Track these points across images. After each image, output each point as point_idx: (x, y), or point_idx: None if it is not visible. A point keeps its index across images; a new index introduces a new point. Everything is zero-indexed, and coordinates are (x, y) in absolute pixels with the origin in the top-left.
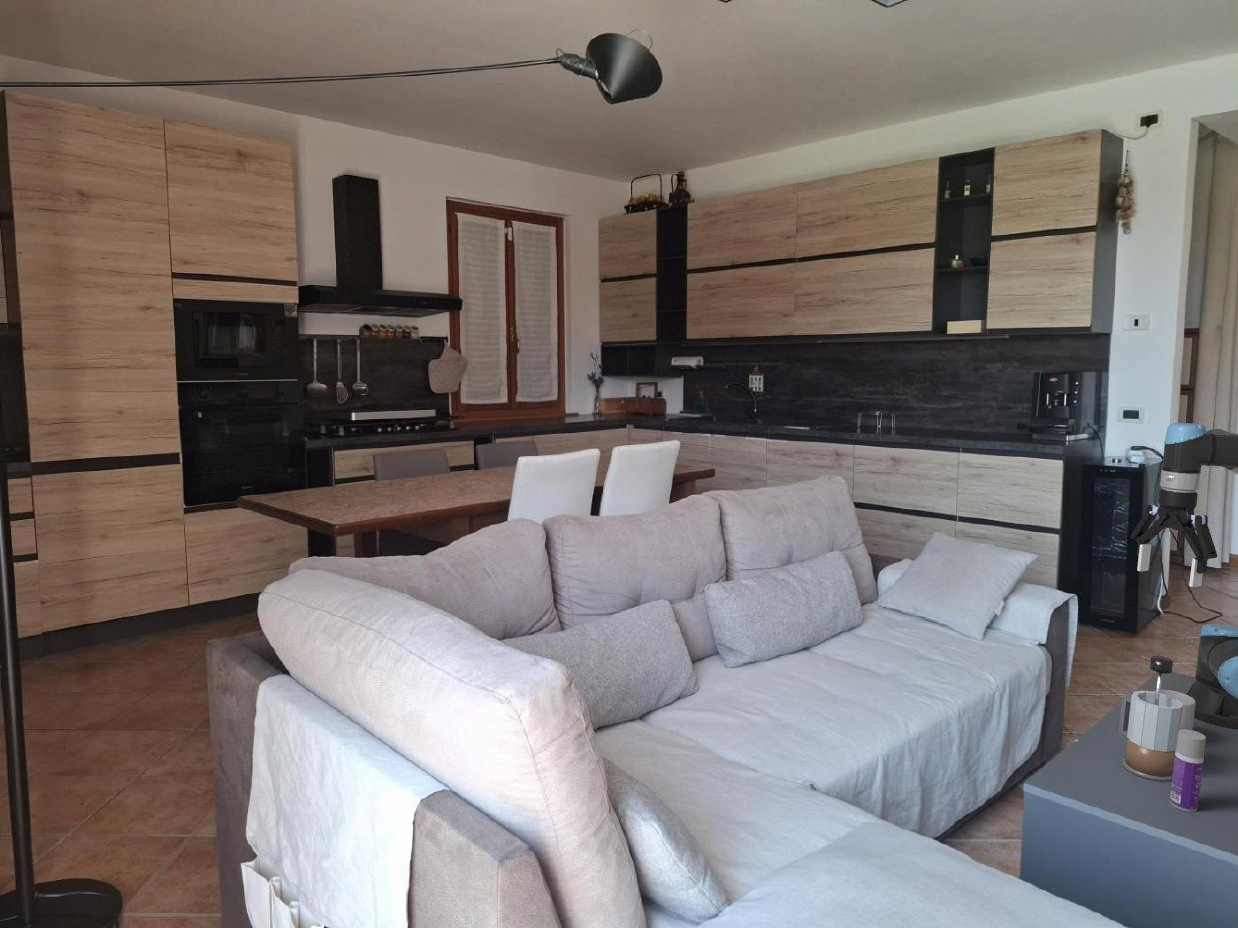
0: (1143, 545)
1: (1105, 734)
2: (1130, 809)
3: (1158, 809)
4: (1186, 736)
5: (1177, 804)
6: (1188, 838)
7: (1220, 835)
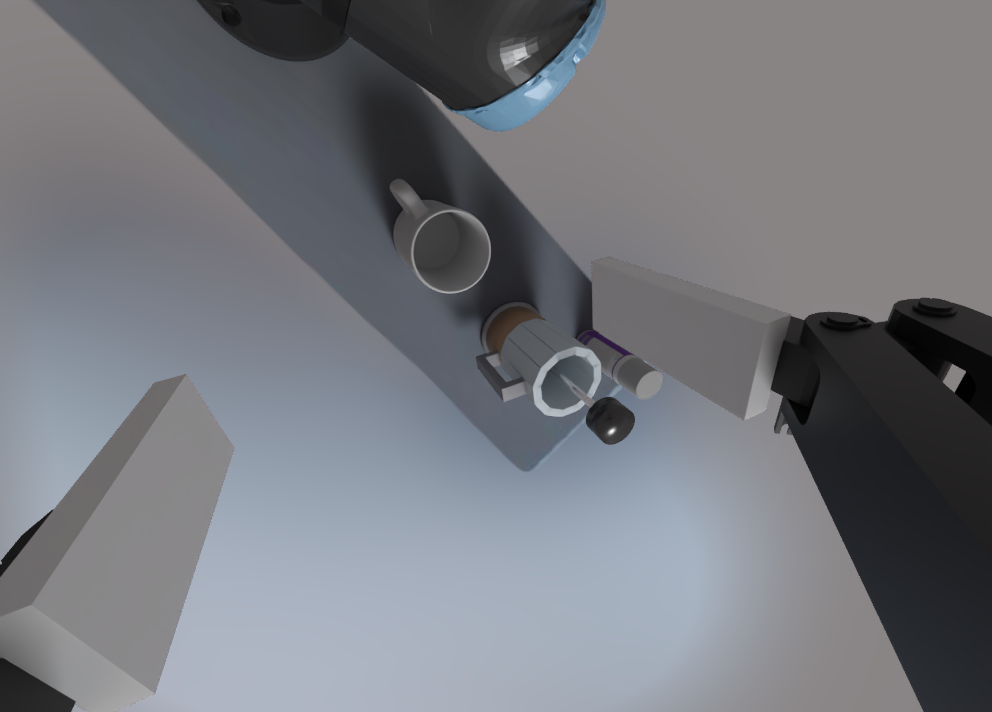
0: (146, 680)
1: (400, 334)
2: None
3: None
4: (650, 395)
5: None
6: None
7: None
